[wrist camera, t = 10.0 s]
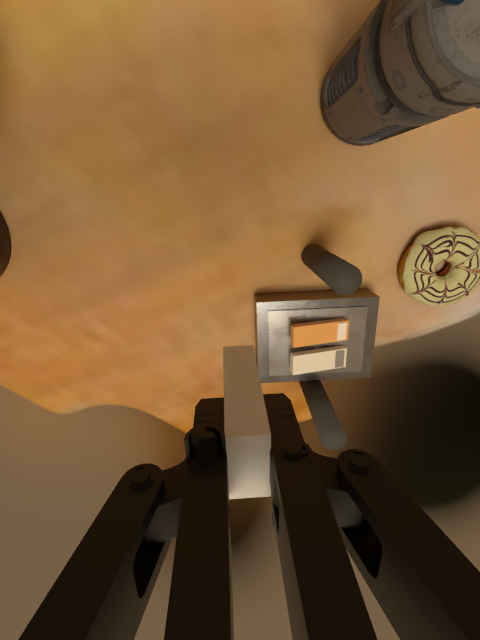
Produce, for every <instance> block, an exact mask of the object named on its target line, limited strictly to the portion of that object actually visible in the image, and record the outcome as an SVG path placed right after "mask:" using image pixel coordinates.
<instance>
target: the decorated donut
mask: <svg viewBox="0 0 480 640" xmlns="http://www.w3.org/2000/svg"><path fill="white" fill-rule="evenodd" d="M442 260H445V261H446V262H447V266H446V268H445V269H444V270H443V271H442V272H441V273H439V274H436V273H435V266H436V264H438V263H439V262H441V261H442ZM398 275H399V281H400V284H401V286H402V288H403V289H404V292H405V293H406V294H407V295H409V296H410V297H411V298H413V299H414V300H416V301H418V302H421V303H423V304H426V305H431V306H446V305H450V304H454V303H457V302H459V301H461V300H462V299H463V298H465V297H466V296H468V295H469V294H470V293H471V292H472V291H473V290H475V289H476V287H477V286H478V285H479V283H480V237H479V236H477V235H476V234H475V233H472V232H470V231H469V230H468V229H467V228H464V227H445V228H440V229H437V230H431V231H426V232H423V233H421V234H420V235H419V236H418V237H417V238H416V239H415V240H414V242H413V243H412V244H411V245H410V246H409V248H408V249H407V250H406V251H405V253H404V255H403V257H402V259H401V260H400V263H399V267H398Z"/></svg>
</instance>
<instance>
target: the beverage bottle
mask: <svg viewBox="0 0 480 640" xmlns="http://www.w3.org/2000/svg"><path fill="white" fill-rule="evenodd" d="M321 99H322V110H323V115H324V118H325V120H326V123H327V125H328V127H329V128H330V130H331V131H332V133H333V134H335V135H336V136H337V137H338V138H339V139H340V140H342V141H344V142H345V143H348V144H352V145H358V146H364V145H371V144H373V143H376V142H379V141H382V140H384V139H387V138H390V137H393V136H396V135H398V134H401V133H404V132H407V131H409V130H412V129H415V128H418V127H420V126H423V125H426V124H429V123H432V122H434V121H437V120H440V119H443V118H445V117H447V116H449V115H453V114H456V113H459V112H461V111H464V110H467V109H470V108H472V107H475V108H480V0H381V1H380V2H379V4H378V5H377V6H376V8H375V9H374V10H373V11H372V13H371V14H370V15H369V17H368V18H367V19H366V20H365V22H364V23H363V24H362V26H361V27H360V28H359V30H358V31H357V32H356V33H355V35H354V36H353V37H352V39H351V40H350V41H349V43H348V44H347V45H346V46H345V48H344V49H343V50H342V52H341V53H340V54H339V56H338V57H337V58H336V60H335V61H334V62H333V64H332V65H331V67H330V69H329V71H328V73H327V75H326V77H325V81H324V84H323V88H322V96H321Z"/></svg>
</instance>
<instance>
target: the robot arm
mask: <svg viewBox="0 0 480 640" xmlns="http://www.w3.org/2000/svg"><path fill="white" fill-rule="evenodd" d="M10 251H11V243H10V236H9V232H8V228H7V226H6V223H5V221H4V219H3V217H2V215H1V213H0V276H1V275H2V274H3V272H4V271H5V269H6V267H7V265H8V262H9V258H10ZM223 365H224V398H208V399H201V400H200V401H199V403H198V404H197V405H196V407H195V417H194V424H193V428H192V429H191V430H190V431H189V432H188V433H187V434H186V436H185V438H184V442H185V451H186V459H185V460H184V461H183V462H182V463H180V464H178V465H176V466H174V467H172V468H169V469H166V470H163V471H162V470H161V469H160V468H159V467H158V466H157V465H154V464H140V465H137V466H135V467H133V468H131V469H130V470H128V471H127V472H126V473H125V474H124V475H123V476H122V478H121V479H120V481H119V482H118V484H117V486H116V487H115V489H114V490H113V492H112V493H111V495H110V497H109V498H108V500H107V501H106V503H105V504H104V506H103V507H102V509H101V511H100V512H99V514H98V515H97V517H96V518H95V520H94V522H93V523H92V525H91V527H90V528H89V530H88V531H87V533H86V534H85V536H84V537H83V539H82V540H81V542H80V544H79V545H78V547H77V548H76V550H75V552H74V553H73V555H72V556H71V558H70V559H69V561H68V563H67V564H66V566H65V567H64V569H63V571H62V572H61V574H60V575H59V577H58V578H57V580H56V581H55V583H54V585H53V586H52V588H51V589H50V591H49V593H48V594H47V596H46V597H45V599H44V600H43V602H42V604H41V605H40V607H39V608H38V610H37V611H36V613H35V614H34V616H33V618H32V619H31V621H30V622H29V624H28V625H27V627H26V629H25V630H24V632H23V633H22V635H21V636H20V638H19V640H134V638H135V635H136V632H137V630H138V627H139V624H140V622H141V619H142V617H143V614H144V611H145V609H146V606H147V603H148V601H149V598H150V596H151V593H152V590H153V588H154V585H155V583H156V580H157V577H158V575H159V572H160V569H161V567H162V564H163V561H164V559H165V556H166V553H167V551H168V548H169V546H170V543H171V539H172V538H174V537H176V536H177V539H176V547H175V555H174V564H173V571H172V580H171V588H170V596H169V604H168V612H167V620H166V628H165V636H164V640H234V633H233V632H234V631H233V598H232V568H231V536H230V535H231V533H230V507H229V499H238V498H253V497H267V496H271V493H272V526H275V529H276V537H277V542H278V549H279V556H280V562H281V569H282V575H283V581H284V588H285V594H286V600H287V607H288V612H289V619H290V626H291V632H292V638H293V640H377V637H376V634H375V632H374V629H373V626H372V623H371V620H370V617H369V614H368V611H367V608H366V606H365V603H364V600H363V597H362V594H361V591H360V588H359V585H358V582H357V579H356V577H355V574H354V571H353V568H352V565H351V562H350V559H349V557H348V554H347V551H348V553H349V554H350V556H351V558H352V559H353V561H354V563H355V564H356V566H357V568H358V570H359V571H360V573H361V574H362V576H363V578H364V579H365V581H366V583H367V584H368V586H369V588H370V590H371V591H372V593H373V595H374V596H375V598H376V600H377V601H378V603H379V605H380V606H381V608H382V610H383V611H384V613H385V615H386V616H387V618H388V620H389V621H390V623H391V625H392V627H393V628H394V630H395V632H396V633H397V635H398V637H399V638H400V640H480V572H479V571H478V570H477V569H476V567H475V566H474V565H473V564H472V563H471V562H470V561H469V560H468V559H467V558H466V556H465V555H464V554H463V553H462V552H461V551H460V550H459V549H458V548H457V547H456V545H455V544H454V543H453V542H452V541H451V540H450V539H449V538H448V537H447V536H446V535H445V534H444V532H443V531H442V530H441V529H440V528H439V527H438V526H437V525H436V524H435V523H434V521H433V520H432V519H431V518H430V517H429V516H428V515H427V514H426V513H425V512H424V510H423V509H422V508H421V507H420V506H419V505H418V504H417V503H416V502H415V501H414V499H413V498H412V497H411V496H410V495H409V494H408V493H407V492H406V491H405V490H404V488H402V486H401V485H400V484H399V483H398V482H397V481H396V480H395V479H394V478H393V476H392V475H391V474H390V473H389V472H388V471H387V470H386V469H385V468H384V467H383V466H382V464H381V463H380V462H379V461H378V460H377V459H376V458H375V457H373V456H372V455H371V454H369V453H367V452H365V451H361V450H357V449H350V450H346V451H344V452H341V454H340V455H339V456H338V459H336V458H331V457H326V456H322V455H319V454H317V453H315V452H313V451H312V450H311V448H310V447H309V445H307V444H306V443H305V442H304V440H303V436H302V433H301V431H300V428H299V424H298V421H297V418H296V416H295V412H294V410H293V406H292V403H291V400H290V399H289V398H288V397H287V396H286V395H285V394H284V393H280V394H263V393H262V388H261V383H260V378H259V373H258V368H257V363H256V358H255V354H254V349H253V345H250V346H231V347H223ZM346 549H347V550H346Z"/></svg>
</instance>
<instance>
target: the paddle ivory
mask: <svg viewBox="0 0 480 640" xmlns="http://www.w3.org/2000/svg"><path fill="white" fill-rule="evenodd" d="M346 355H347V348H346V347H345V346H343V345H342V346H335V347H328V348H321V349H314V350H307V351H300V352H293V353H290V372H291V373H292V375H298V374H304V373H311V372H317V371H323V370H330V369H336V368H342V367H346Z"/></svg>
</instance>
